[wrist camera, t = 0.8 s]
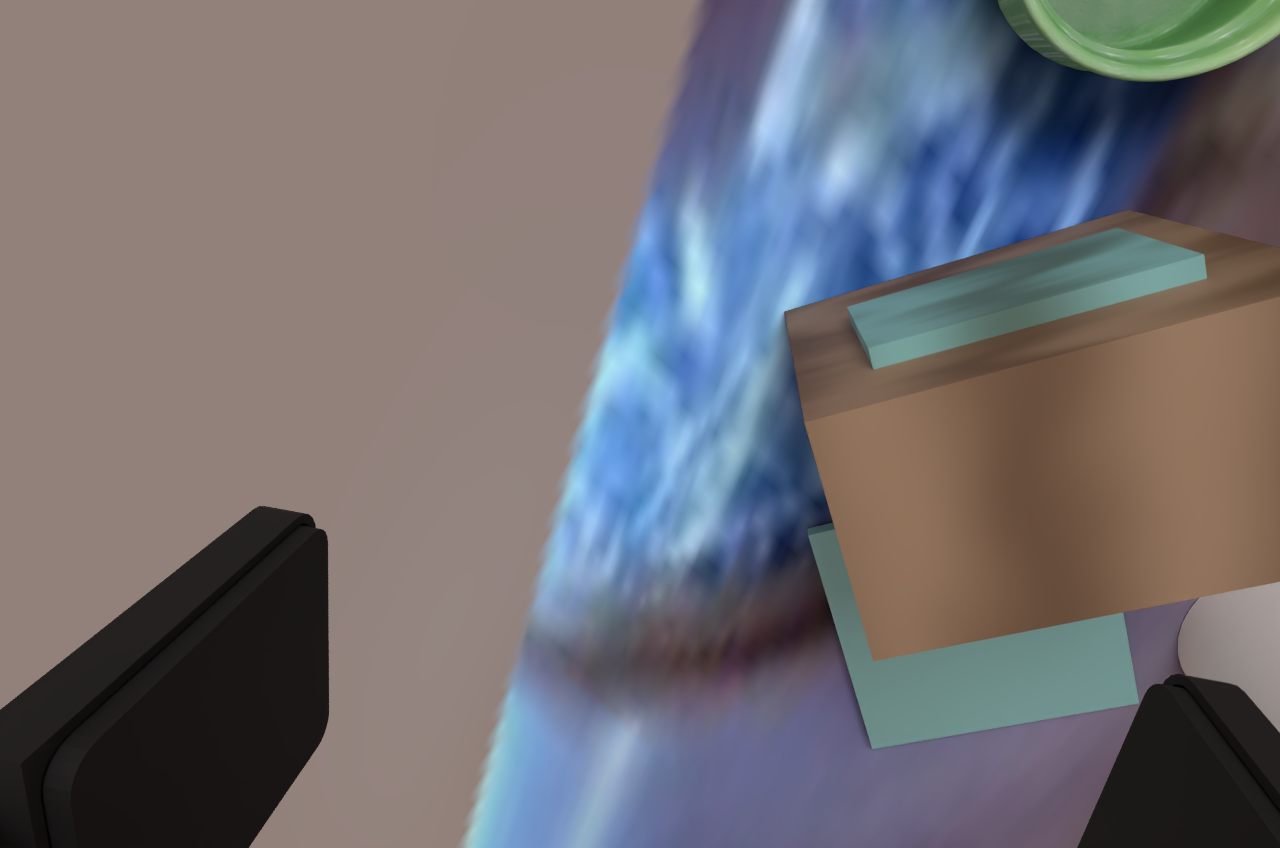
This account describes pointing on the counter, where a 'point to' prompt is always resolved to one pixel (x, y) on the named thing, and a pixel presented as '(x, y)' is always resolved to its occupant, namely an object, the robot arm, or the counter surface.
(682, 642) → the counter surface
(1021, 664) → the teal pad
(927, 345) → the walnut housing
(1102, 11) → the ramekin
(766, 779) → the counter surface
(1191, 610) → the cylindrical container
